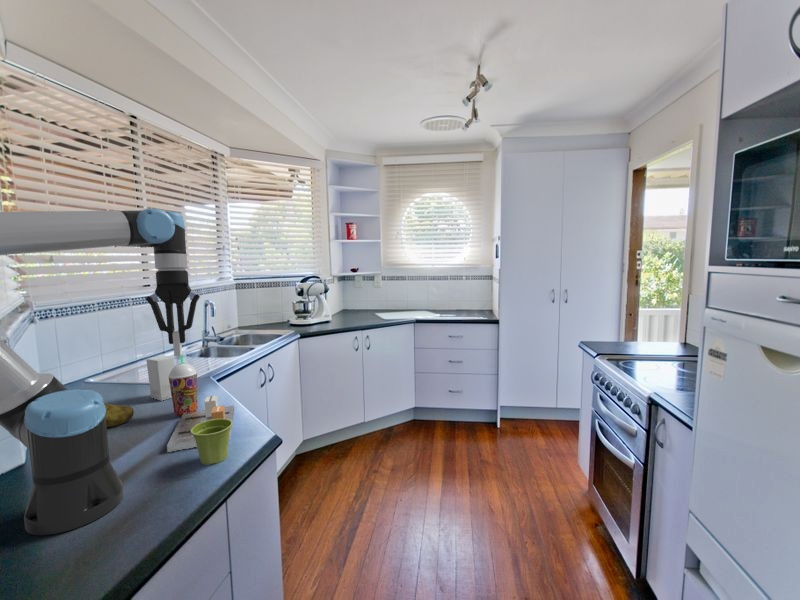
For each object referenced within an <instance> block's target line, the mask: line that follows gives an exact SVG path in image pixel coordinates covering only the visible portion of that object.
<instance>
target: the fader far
mask: <svg viewBox="0 0 800 600" xmlns="http://www.w3.org/2000/svg"><path fill="white" fill-rule="evenodd" d="M205 397H206V398H205V400H204V410H205V413H206V418H207V417H212V414H211V413H212V410H213V407H217V406H219V405H218V403H219V402H218V396H217V395H211V396H205Z"/></svg>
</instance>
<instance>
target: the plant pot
mask: <svg viewBox="0 0 800 600" xmlns="http://www.w3.org/2000/svg"><path fill="white" fill-rule="evenodd" d="M231 426H232V427H233V423H232V421H231V420H229V419H213V420H208V421H204V422H202V423H199V424H197V425H195V426H194V427H193V428H192V429H191V433H192V434H193V436H194V438H195V440H196V444H197V448H196V449H197V453H198V456H199V457H198V458H199V461H200V463H201V464H203V465H206V466H210V465H212V464H219V463H222V462H223V461H225V460H226V459H227V457H228V453H229V443H230V442H229V432H230V429H231Z"/></svg>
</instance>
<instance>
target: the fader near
mask: <svg viewBox="0 0 800 600" xmlns="http://www.w3.org/2000/svg"><path fill="white" fill-rule="evenodd" d="M225 407H226V406H225V405H218V406H217V407H213V410H212V413H211V414H212V420H213V419H225Z"/></svg>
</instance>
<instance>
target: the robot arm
mask: <svg viewBox="0 0 800 600" xmlns="http://www.w3.org/2000/svg"><path fill="white" fill-rule="evenodd" d="M185 227H186V226H185V221H184V217H183V215H182V214H181V213H179V212H176V211H169V210H167V211H166V210H162V209H159V208H144V209H142V210H58V211H57V210H53V211H52V210H51V211H50V210H49V211H46V210H45V211H44V210H43V211H0V256H6V255H20V254H33V253H47V252H60V251H73V250H85V249H87V250H88V249H97V248H98V249H99V248H109V247H111V248H112V247H114V248H117V247H121V248H122V247H125V248H152V249H153V255H154V257H153V258H154V268H155V270H157V271H156V272H155V281H156V288H155V289H154V293H151V295H149V296H146V297H145V301H146V302H147V303H148V304H149V305H150V307H151V310H152V311H153V312H152V314H153V315H154V318H155V320H156V323H157V325H158V328H159V331H160V332H162V331H163V332H167V339H168V344H169V345H173V355H174V356H173V357H181V355H183V346H182V345H183V344H184V343H186V331H187V330H190V329H191V328H192V327H193V324H194V323H193V322H194V317H195V312H196V308H197V303H198V301H199V299H200V298H201V295H200V293H195V292H194V291H192V288H191V287H190V285H189V284H190V282H189V272H188V270H186V269H187V268H188V257H187V247H186V246H187V245H186V228H185ZM188 297H189V300H190V304H189V309H188V314H187V318H186V323H185V313H184V312H185V311H184V302H185V301H186V300H187V299H188ZM159 299H160V301H162V303H164V306H165V307H164V308H165V313H166V316H165V317H166V320H165V318H164V317H163V314H162V311H161V308H160V306H159V303H158V300H159ZM174 304H175V306H176V316H177V317H176V318H177V328H178V330H177V331H175V329H176V328H175V320H174V319H175V318H174ZM104 403H105V402H104V398H103V396H102V394H100V393H99V392H97V391H95V390H91V389H82V390H81V389H68V388H67V387H66V386H65V385H64V384H63V383H62V382H61V381H60V380H58V378H56V377H55V375H53V374H52V373H45V372H43V373H42V372H41V373H40V372H37V371H36V370H35V369H34V368H33V367H32V366H31V365H29V364H28V362H26V361H25V360H24V359H23V358H22V357H21V356H20V355H19V354H17V352H16V351H15V350H13V349H12V348H11V347H10V345H8V344H7V343H6V342H5V341H4V340H3V339H1V338H0V426H1V427H2V428H4V430H6V431H7V432H8V433H9V434H10V435H11V436H12V437H13V438H15V439H16V440H18V442H21V444H23V446H24V447H25V448H26V449H28V450H27V451H28V453H29V460H30V462H29V463H30V468H31V470H30V471H31V477H32V489H31V492H30V495H29V499H28V501H27V505H26V509H25V512H24V517H23V520H24V530H25V531H26V533H28V534H30V535H33V536H49V535H58V534H62V533H64V532H68V531H72V530H75V529H77V528H81V527H82V526H86V525H88V524H90V523H92V522H94V521H96V520H98V519H100V518H102V517H103V516H106V515H107V514H109V513H110V512H111V511H112V510H114V509H115V508H117V506H118V505H119V504H120V503H121V502H122V500H123V498H124V497H125V496H124V495H125V492H124V484H123V481H122V480H121V478H120V476H119V474H118V473H117V472H116V470H115V468H114V466H113V465H112V463H111V460H110V449H109V437H108V429H107V428H108V427H106V417H105V414H106V413H105V412H106V408H105V405H104Z"/></svg>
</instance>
